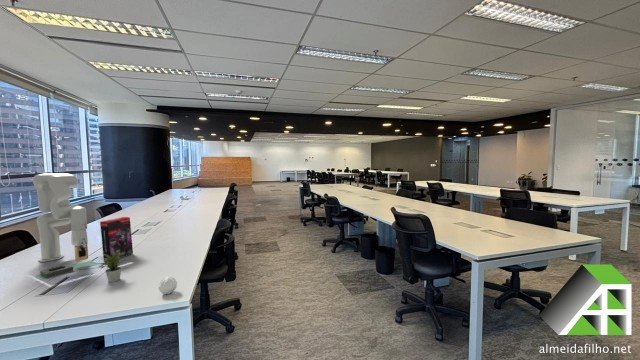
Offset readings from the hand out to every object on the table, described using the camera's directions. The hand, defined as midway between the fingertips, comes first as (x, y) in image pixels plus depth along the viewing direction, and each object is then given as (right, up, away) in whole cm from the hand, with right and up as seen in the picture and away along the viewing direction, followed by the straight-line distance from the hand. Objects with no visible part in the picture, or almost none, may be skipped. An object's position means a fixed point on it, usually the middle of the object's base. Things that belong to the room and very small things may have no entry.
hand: (81, 255), depth 169 cm
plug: (0, -3, 0) cm, 3 cm away
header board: (-3, -8, -5) cm, 10 cm away
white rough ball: (+75, -8, -36) cm, 84 cm away
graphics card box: (+10, -7, +18) cm, 22 cm away
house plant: (+35, -8, -18) cm, 40 cm away
